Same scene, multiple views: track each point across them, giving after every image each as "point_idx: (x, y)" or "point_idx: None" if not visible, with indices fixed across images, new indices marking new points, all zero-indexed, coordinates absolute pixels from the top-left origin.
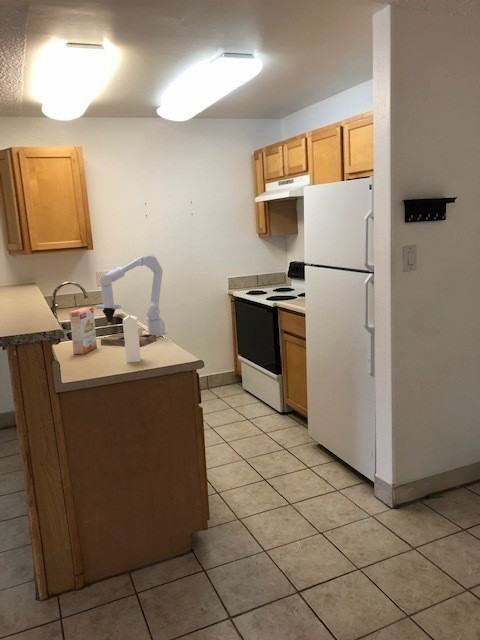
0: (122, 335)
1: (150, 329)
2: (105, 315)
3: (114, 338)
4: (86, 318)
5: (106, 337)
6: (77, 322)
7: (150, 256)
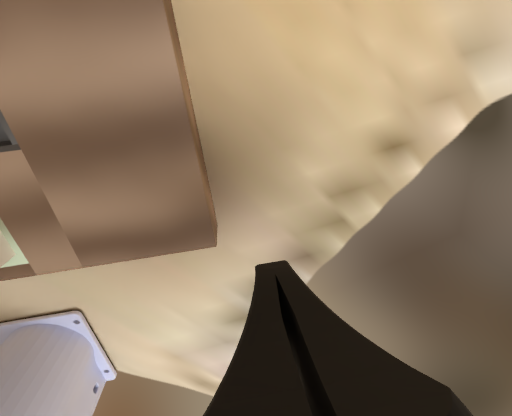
0: (94, 195)
1: (4, 365)
2: (339, 322)
3: (25, 53)
4: None
5: (168, 72)
6: None
7: None
